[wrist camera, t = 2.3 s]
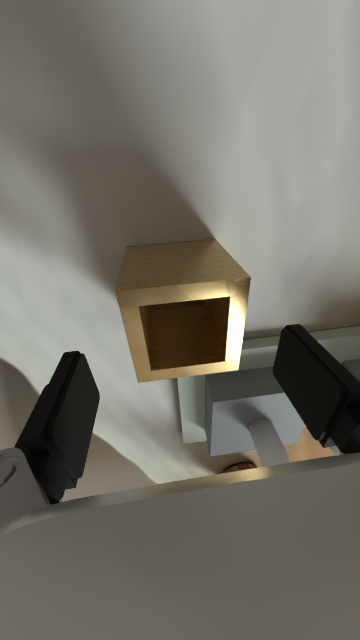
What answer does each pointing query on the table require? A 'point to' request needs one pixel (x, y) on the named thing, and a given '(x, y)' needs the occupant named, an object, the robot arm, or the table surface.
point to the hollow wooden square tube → (182, 309)
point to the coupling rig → (254, 400)
